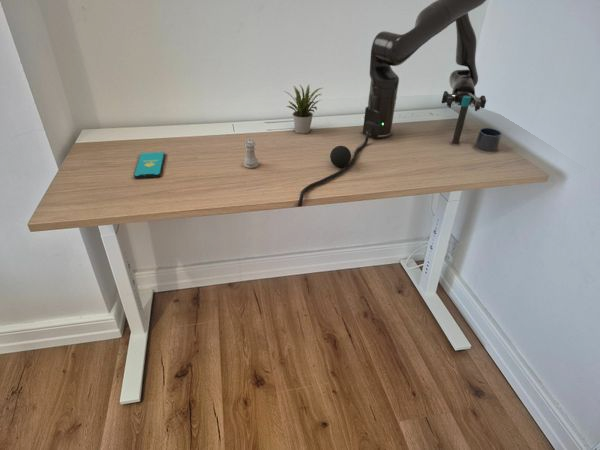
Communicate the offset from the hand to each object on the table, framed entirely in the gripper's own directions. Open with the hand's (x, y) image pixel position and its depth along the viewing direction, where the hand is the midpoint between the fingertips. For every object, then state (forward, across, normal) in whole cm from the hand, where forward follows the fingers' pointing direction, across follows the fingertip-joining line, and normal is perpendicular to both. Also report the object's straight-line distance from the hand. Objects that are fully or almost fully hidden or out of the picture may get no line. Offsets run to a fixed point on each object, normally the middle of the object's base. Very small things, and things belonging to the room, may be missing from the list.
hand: (463, 106), depth 141 cm
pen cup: (+4, +10, +12) cm, 16 cm away
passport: (+53, -88, +12) cm, 103 cm away
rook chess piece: (+42, -59, +12) cm, 74 cm away
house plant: (+12, -51, +12) cm, 54 cm away
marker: (+4, 0, +12) cm, 13 cm away
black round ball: (+32, -34, +12) cm, 48 cm away
